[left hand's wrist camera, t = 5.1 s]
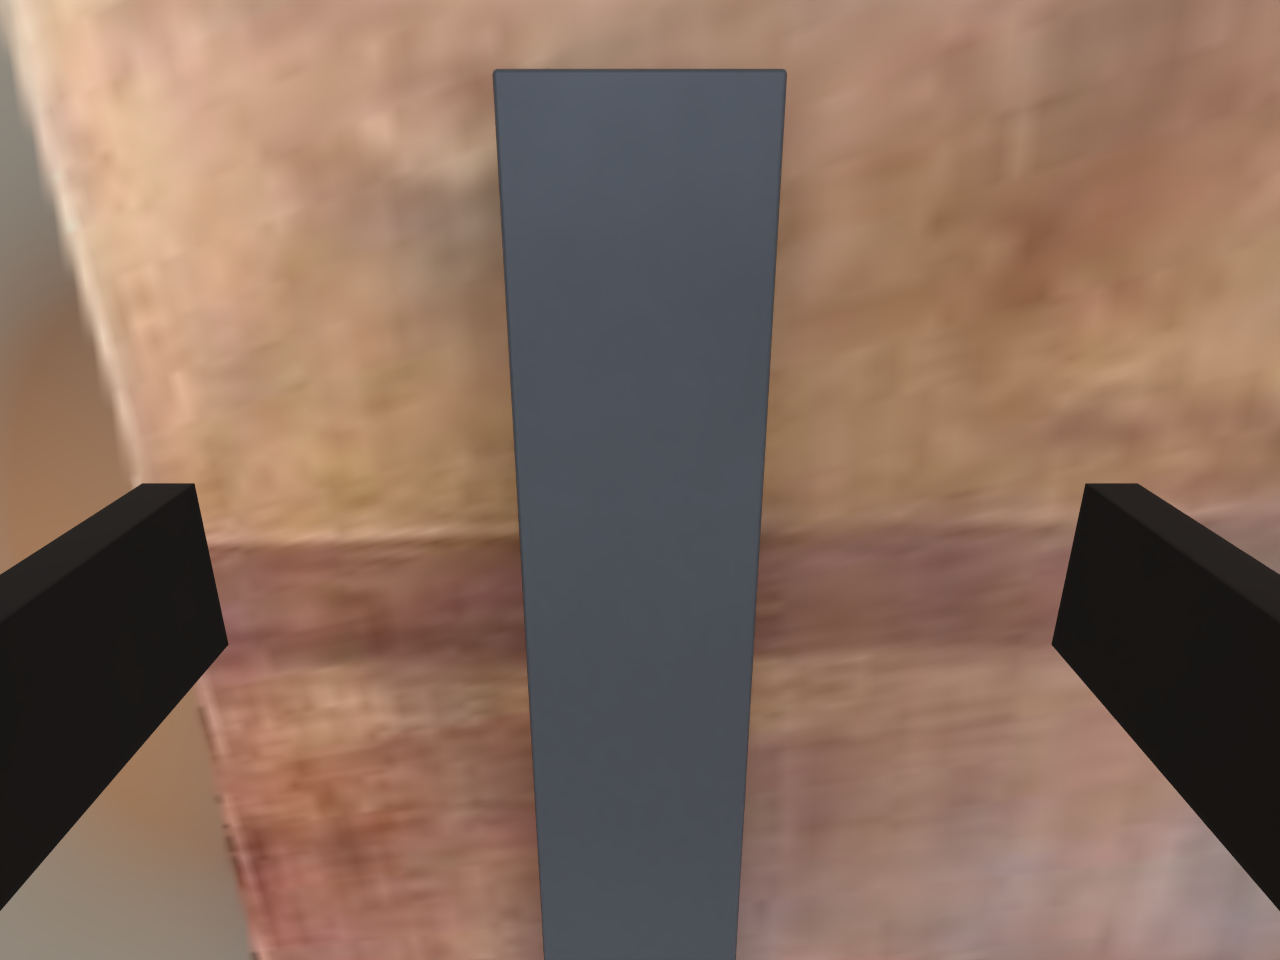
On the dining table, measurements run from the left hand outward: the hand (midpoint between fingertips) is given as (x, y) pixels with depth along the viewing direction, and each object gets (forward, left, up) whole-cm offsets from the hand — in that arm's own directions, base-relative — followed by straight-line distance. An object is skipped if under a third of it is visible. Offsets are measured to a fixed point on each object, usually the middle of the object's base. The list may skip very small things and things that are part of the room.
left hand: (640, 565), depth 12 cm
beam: (-29, +6, -14) cm, 33 cm away
